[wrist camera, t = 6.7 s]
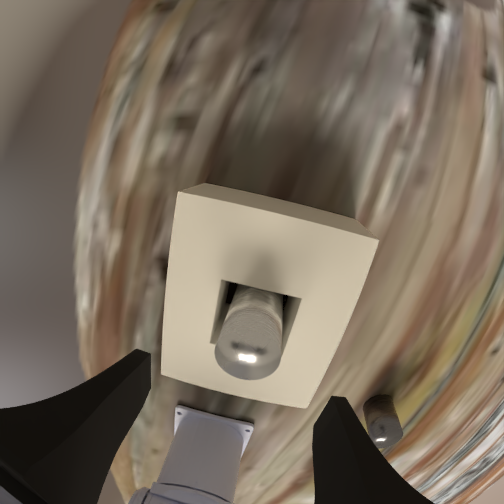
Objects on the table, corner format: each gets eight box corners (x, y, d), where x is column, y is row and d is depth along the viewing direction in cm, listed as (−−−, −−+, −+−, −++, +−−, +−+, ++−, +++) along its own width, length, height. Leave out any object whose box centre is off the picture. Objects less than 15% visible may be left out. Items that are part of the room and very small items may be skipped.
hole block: (304, 363, 22) (306, 408, 17) (182, 334, 22) (160, 374, 17) (355, 219, 18) (379, 240, 13) (205, 182, 18) (177, 191, 13)
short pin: (382, 414, 23) (392, 448, 19) (357, 413, 23) (364, 448, 19) (397, 395, 22) (409, 429, 18) (371, 393, 22) (381, 429, 18)
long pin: (277, 307, 20) (271, 385, 13) (236, 297, 20) (210, 371, 13) (288, 269, 19) (289, 338, 12) (244, 258, 19) (219, 322, 12)
